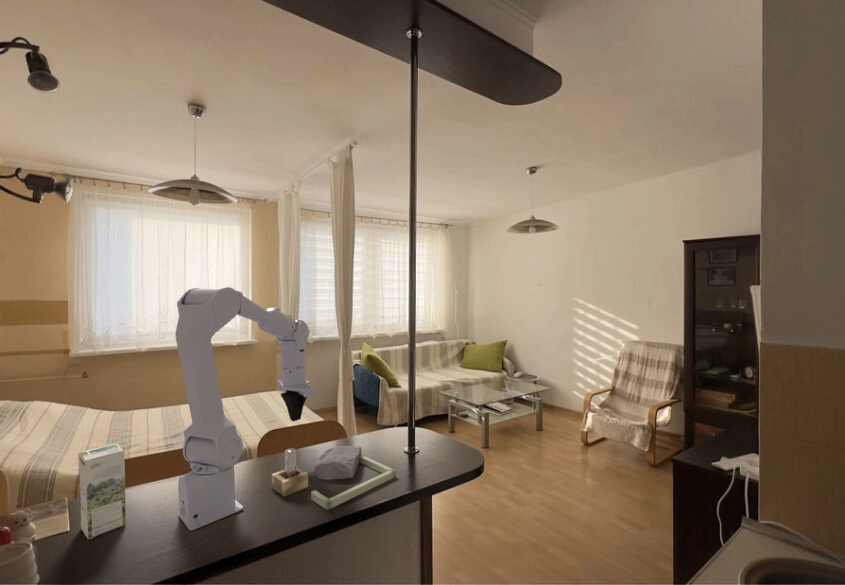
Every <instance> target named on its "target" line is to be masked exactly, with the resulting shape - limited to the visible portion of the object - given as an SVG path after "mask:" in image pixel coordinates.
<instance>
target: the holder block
mask: <svg viewBox="0 0 845 585" xmlns="http://www.w3.org/2000/svg"><path fill="white" fill-rule="evenodd" d="M308 487H309V473H308V472H307V471H305V470H303V469H302V468H301V467H299V466H297V475H296V476H293V477H291V478H288V479H285V468H284V469H282V470H279V471H277V472H273V473H272V474H271V488H272V489H273V490H274V491H276V492H277V493H278V494H279V495H281V496H282V497H283V498H285V497H288V496H289V495H292V494H294V493H297V492H299V491H301V490H303V489H306V488H308Z"/></svg>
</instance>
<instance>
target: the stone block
mask: <svg viewBox="0 0 845 585" xmlns="http://www.w3.org/2000/svg"><path fill="white" fill-rule="evenodd" d="M362 454H363V452H362V446H353V445H352V446H351V445H338V446H335V447H331V448H328V449H326V450H325V451H324V453H323V454H321V456H320V457H319V458H318V460H317V461H316V463H315V464H314V474H315V476H316V478H317V479H318V480H325V481H329V480H345V479H353V477H354V476H355V473H356V471H357V469H358V466H359V464H360V457H361V456H363V455H362Z"/></svg>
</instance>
